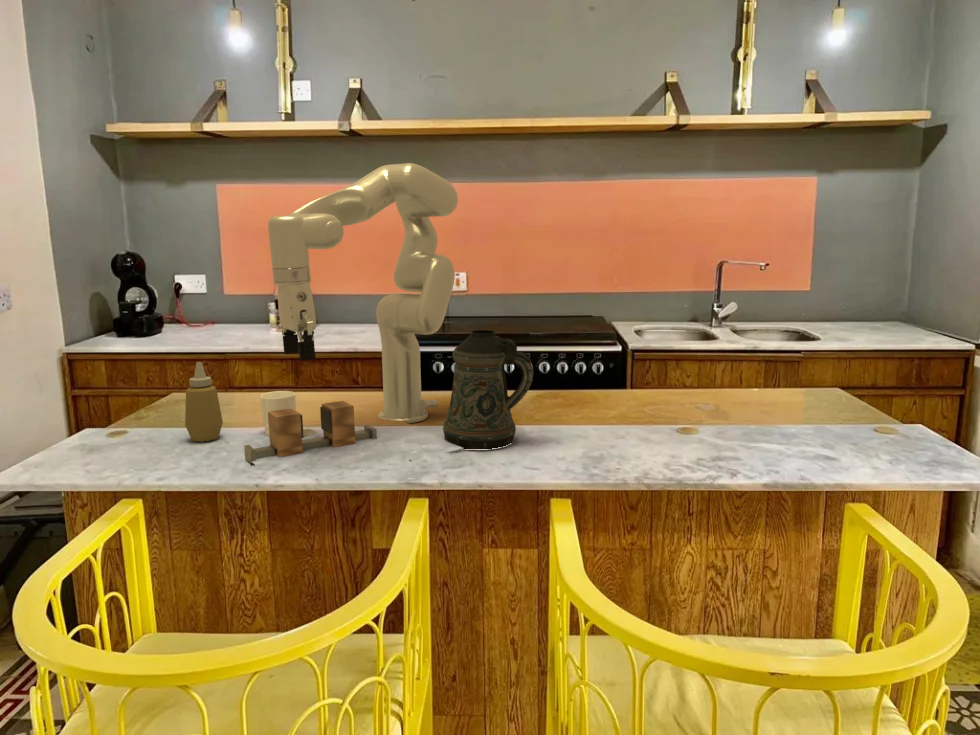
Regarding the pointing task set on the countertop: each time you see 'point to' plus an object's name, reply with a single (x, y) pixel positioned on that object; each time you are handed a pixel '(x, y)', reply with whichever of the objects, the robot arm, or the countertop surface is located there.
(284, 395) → the white cup
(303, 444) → the rail
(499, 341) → the beer stein
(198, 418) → the squeeze bottle
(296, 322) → the robot arm
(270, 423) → the brown capped cube
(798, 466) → the countertop surface
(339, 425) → the wooden block
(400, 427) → the countertop surface
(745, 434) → the countertop surface
